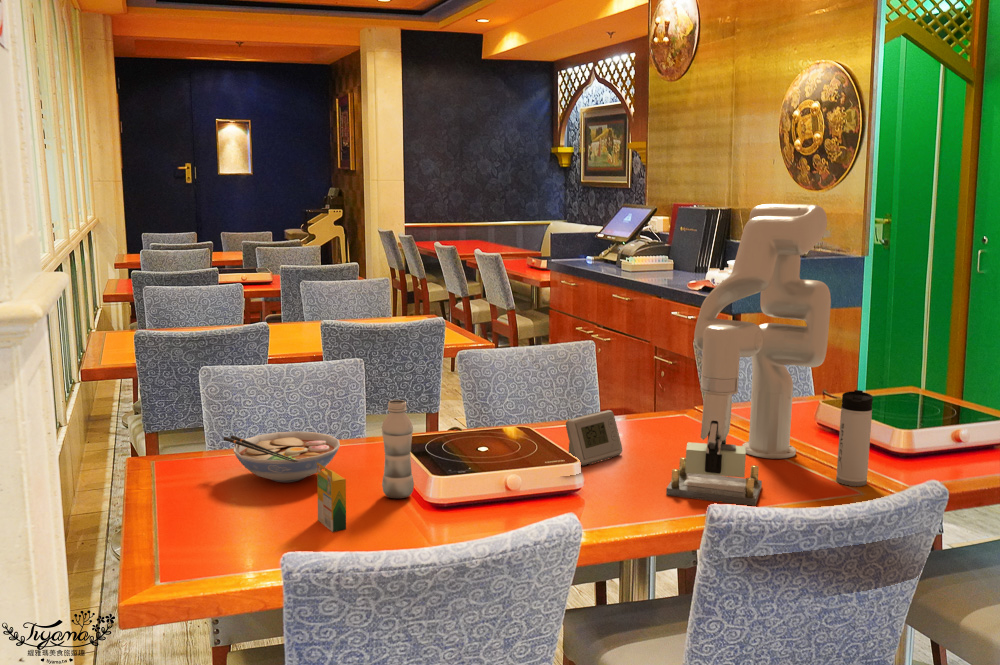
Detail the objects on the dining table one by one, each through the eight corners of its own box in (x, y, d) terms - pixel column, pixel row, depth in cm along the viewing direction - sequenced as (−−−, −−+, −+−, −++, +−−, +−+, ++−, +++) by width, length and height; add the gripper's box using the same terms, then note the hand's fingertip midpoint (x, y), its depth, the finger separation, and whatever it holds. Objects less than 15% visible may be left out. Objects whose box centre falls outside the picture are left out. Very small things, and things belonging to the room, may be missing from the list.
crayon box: (347, 529, 169) (346, 469, 168) (332, 532, 168) (331, 472, 166) (332, 517, 175) (330, 459, 174) (317, 520, 174) (315, 461, 172)
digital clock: (576, 469, 208) (578, 423, 206) (554, 459, 215) (554, 415, 213) (631, 458, 216) (633, 415, 214) (607, 449, 224) (609, 407, 222)
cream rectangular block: (686, 464, 196) (687, 439, 196) (743, 469, 194) (745, 443, 193) (685, 472, 191) (686, 446, 190) (744, 477, 188) (745, 451, 187)
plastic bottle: (389, 504, 183) (388, 407, 180) (377, 494, 189) (376, 400, 186) (418, 499, 186) (418, 403, 183) (406, 489, 192) (406, 396, 189)
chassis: (677, 477, 202) (678, 455, 201) (761, 487, 196) (762, 464, 195) (666, 495, 190) (667, 471, 189) (755, 506, 184) (756, 482, 183)
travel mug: (867, 479, 202) (874, 391, 199) (865, 488, 196) (872, 397, 193) (837, 475, 204) (843, 388, 201) (834, 484, 198) (841, 394, 195)
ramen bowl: (365, 478, 199) (364, 442, 198) (275, 503, 183) (274, 464, 181) (298, 455, 216) (297, 421, 215) (210, 476, 200) (209, 440, 198)
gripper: (707, 375, 199) (703, 455, 201) (694, 390, 183) (690, 477, 185) (742, 378, 196) (738, 459, 199) (732, 394, 180) (728, 481, 183)
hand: (715, 467), depth 192 cm, fingers closed on cream rectangular block, 6 cm apart
